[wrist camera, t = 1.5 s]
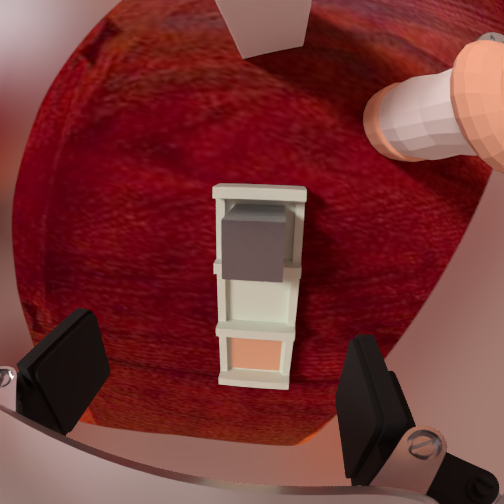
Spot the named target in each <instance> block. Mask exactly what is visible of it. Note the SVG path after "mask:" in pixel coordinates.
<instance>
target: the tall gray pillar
mask: <svg viewBox="0 0 504 504" xmlns="http://www.w3.org/2000/svg"><path fill="white" fill-rule="evenodd" d="M285 232H286V213H285V206H284V205H262V204H235V205H234V206H233V207H232V209H231V210H230V211H229V212H228V213H227V214H226V215H225V216H224V217H223V218H222V220H221V253H222V279H228V280H244V281H261V282H279V283H283V267H284V250H285Z"/></svg>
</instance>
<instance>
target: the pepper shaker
mask: <svg viewBox="0 0 504 504" xmlns="http://www.w3.org/2000/svg"><path fill="white" fill-rule="evenodd" d="M363 125H364V129H365V133H366V135H367V137H368V139H369V141H370V143H371V144H372V146H373V147H374V148H375V149H376V150H377V151H378V152H379V153H381V154H382V155H384V156H386V157H388V158H390V159H395V160H400V161H409V162H417V161H423V160H426V159H428V160H437V159H444V158H448V157H452V156H456V155H474V156H479V157H480V158H481V159H482V160H483V161H485V162H486V163H487V164H488V165H489V166H491V167H492V168H493V169H495V170H496V171H498V172H501V173H504V44H503V43H501V42H496V41H490V40H478V41H475V42H472V43H470V44H467V45H466V46H465V47H464V49H463V50H462V51H461V52H460V54H459V55H458V56H457V58H456V60H455V62H454V66H453V68H452V69H449V70H447V71H444V72H442V73H440V74H434V75H426V76H418V77H412V78H410V79H408V80H406V81H404V82H399V83H394V84H392V85H389V86H387V87H385V88H384V89H382V90H380V91H379V92H377V93H375V94H374V95H373V96H372V97H371V98H370V100H369V101H368V102H367V105H366V107H365V109H364V115H363Z"/></svg>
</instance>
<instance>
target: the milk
mask: <svg viewBox="0 0 504 504" xmlns="http://www.w3.org/2000/svg"><path fill="white" fill-rule="evenodd" d="M311 1H312V0H215V2H216V4H217V6H218V8H219V10H220V12H221V14H222V16H223V18H224V20H225V22H226V24H227V26H228V28H229V30H230V33H231V35H232V37H233V39H234V41H235V43H236V46H237V48H238V50H239V52H240V54H241V57H242V59H246V58H249V57H253V56H257V55H262V54H266V53H270V52H275V51H280V50H285V49H290V48H295V47H301V46H303V44H304V39H305V33H306V28H307V23H308V17H309V12H310V7H311Z"/></svg>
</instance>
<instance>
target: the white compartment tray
mask: <svg viewBox="0 0 504 504" xmlns="http://www.w3.org/2000/svg"><path fill="white" fill-rule="evenodd" d="M213 198H216V245H217V259H216V260H215V262H214V274H217V290H218V324H217V326H216V336H219V345H220V366H221V371H220V375H219V384H222V385H231V386H242V387H254V388H268V389H287V390H288V388H289V373H290V365H291V356H292V348H293V341H294V340H295V321H296V311H297V301H298V290H299V279H301V270H302V267H301V254H302V241H303V226H304V210H305V202H306V199H307V189H306V188H305V187H304V186H287V185H264V184H225V183H219V184H217V185H215V186H213ZM235 204H262V205H284V206H285V213H286V232H285V250H284V267H283V283H279V282H261V281H244V280H228V279H222V253H221V220H222V218H223V217H224V216H225V215H226V214H227V213H228V212H229V211H230V210H231V209H232V207H233V206H234V205H235Z"/></svg>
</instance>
